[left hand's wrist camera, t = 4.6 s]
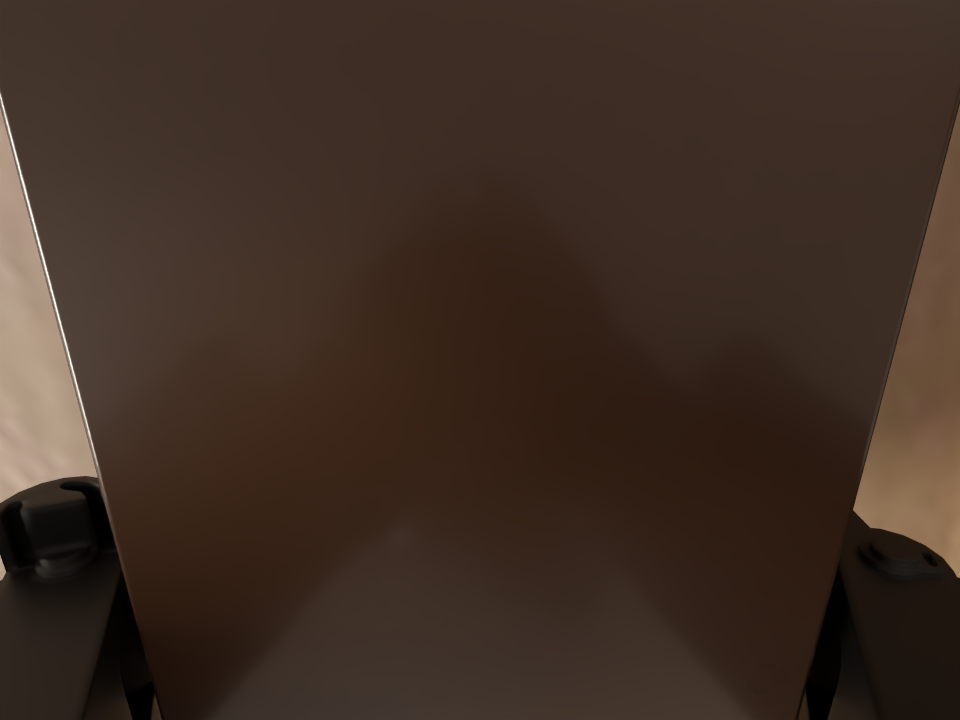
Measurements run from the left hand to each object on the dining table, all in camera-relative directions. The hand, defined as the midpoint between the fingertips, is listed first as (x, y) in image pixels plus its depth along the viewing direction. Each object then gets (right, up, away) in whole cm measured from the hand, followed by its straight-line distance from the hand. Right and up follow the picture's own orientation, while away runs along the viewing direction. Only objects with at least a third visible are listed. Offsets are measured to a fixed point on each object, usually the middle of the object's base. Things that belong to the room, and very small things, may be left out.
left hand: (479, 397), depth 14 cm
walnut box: (0, +10, -3) cm, 10 cm away
